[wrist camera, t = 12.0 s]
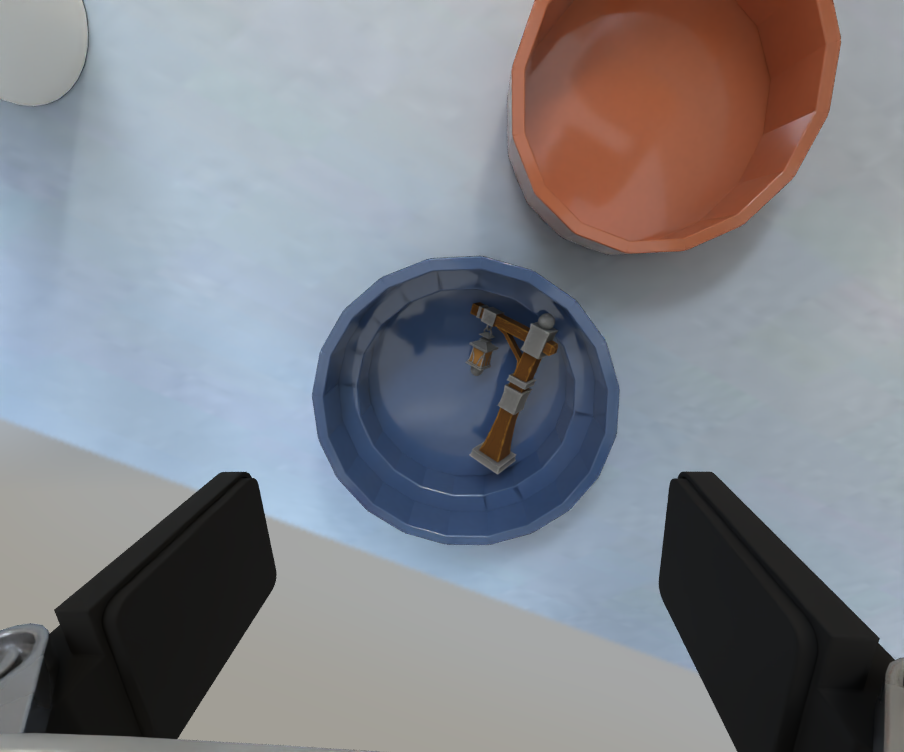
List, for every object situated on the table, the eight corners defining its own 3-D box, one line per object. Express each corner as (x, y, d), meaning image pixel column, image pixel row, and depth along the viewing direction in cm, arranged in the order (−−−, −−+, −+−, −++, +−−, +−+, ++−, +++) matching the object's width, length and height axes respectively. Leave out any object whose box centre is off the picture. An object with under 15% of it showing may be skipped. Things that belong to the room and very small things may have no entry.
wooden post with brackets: (490, 283, 20) (575, 318, 18) (452, 419, 24) (519, 462, 22) (469, 285, 19) (558, 324, 17) (431, 430, 22) (501, 477, 20)
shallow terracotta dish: (798, -57, 16) (871, -130, 13) (755, 247, 19) (807, 245, 16) (505, -26, 17) (510, -88, 14) (508, 259, 20) (513, 259, 17)
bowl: (597, 250, 20) (628, 248, 16) (586, 493, 23) (610, 546, 19) (331, 263, 21) (292, 265, 17) (359, 494, 24) (332, 544, 20)
